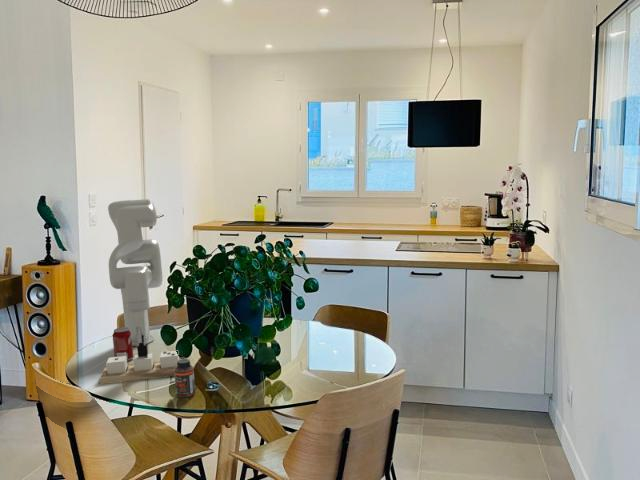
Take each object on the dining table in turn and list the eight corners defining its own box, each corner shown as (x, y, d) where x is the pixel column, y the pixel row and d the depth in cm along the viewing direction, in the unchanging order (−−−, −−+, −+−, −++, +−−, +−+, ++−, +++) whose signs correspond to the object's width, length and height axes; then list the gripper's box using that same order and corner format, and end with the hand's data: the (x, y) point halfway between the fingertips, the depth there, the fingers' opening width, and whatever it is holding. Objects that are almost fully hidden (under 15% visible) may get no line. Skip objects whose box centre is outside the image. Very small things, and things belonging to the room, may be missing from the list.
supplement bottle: (173, 398, 192) (170, 363, 191) (180, 391, 198) (178, 357, 196) (191, 398, 191) (188, 363, 189) (198, 391, 197) (195, 357, 195)
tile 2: (136, 365, 219) (135, 354, 219) (153, 363, 220) (152, 352, 220) (134, 371, 213) (133, 359, 213) (152, 369, 214) (151, 357, 214)
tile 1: (109, 368, 217) (108, 356, 217) (127, 366, 219) (126, 355, 218) (107, 374, 212) (106, 362, 211) (125, 372, 213) (124, 360, 212)
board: (106, 371, 221) (105, 366, 221) (185, 362, 226) (184, 357, 226) (100, 383, 208) (99, 378, 208) (184, 374, 213) (183, 369, 213)
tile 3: (162, 362, 221) (160, 351, 220) (179, 361, 222) (178, 349, 221) (160, 368, 215) (159, 356, 214) (178, 366, 216) (177, 354, 215)
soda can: (127, 363, 229) (125, 331, 227) (111, 362, 230) (108, 331, 229) (136, 357, 236) (134, 326, 234) (120, 356, 237) (117, 326, 235)
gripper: (129, 301, 220) (134, 351, 223) (124, 310, 206) (129, 363, 208) (151, 299, 222) (155, 348, 224) (147, 308, 207) (152, 361, 209)
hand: (143, 355), depth 216 cm, fingers closed
